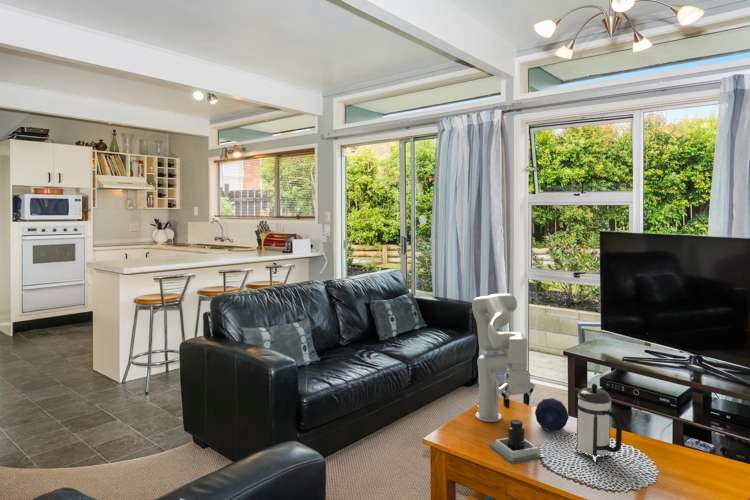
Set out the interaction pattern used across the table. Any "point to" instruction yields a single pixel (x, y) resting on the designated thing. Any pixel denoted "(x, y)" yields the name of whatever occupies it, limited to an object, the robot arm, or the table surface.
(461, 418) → the table surface
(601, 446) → the coffee press
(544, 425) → the decorative orb
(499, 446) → the rimmed tray
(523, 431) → the supplement bottle
